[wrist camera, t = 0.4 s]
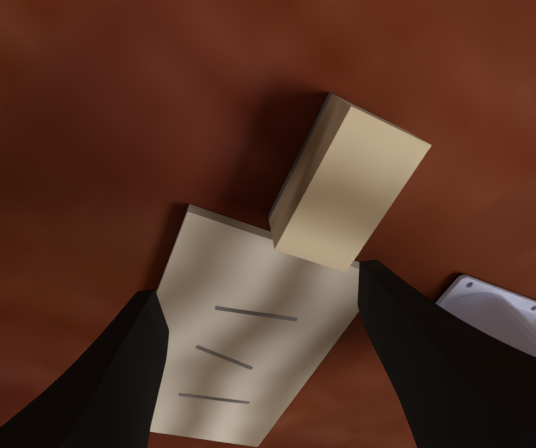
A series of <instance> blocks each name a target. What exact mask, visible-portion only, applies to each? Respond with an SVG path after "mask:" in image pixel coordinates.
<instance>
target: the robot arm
mask: <svg viewBox="0 0 536 448" xmlns="http://www.w3.org/2000/svg"><path fill="white" fill-rule="evenodd" d="M357 305H358V308H359V311H360V314H361V317H362V320H363V323H364V326H365V329H366V331H367V334H368V336H369V338H370V340H371V342H372V344H373V346H374V348H375V350H376V352H377V354H378V356H379V358H380V360H381V362H382V364H383V366H384V368H385V370H386V372H387V374H388V377H389V379H390V381H391V383H392V385H393V387H394V389H395V391H396V393H397V395H398V398H399V400H400V402H401V405H402V408H403V410H404V413H405V415H406V418H407V421H408V423H409V426H410V429H411V431H412V434H413V437H414V440H415V442H416V445H417V448H536V301H535V300H532V299H530V298H527V297H524V296H522V295H519V294H516V293H513V292H511V291H508V290H505V289H503V288H500V287H497V286H494V285H492V284H489V283H486V282H484V281H481V280H478V279H476V278H473V277H470V276H467V275H461V276H459V277H458V278H457V279H456V280H455V281H454V282H453V283H452V284H451V285H450V287H449V288H448V289H447V290H446V291H445V292H444V293H443V295H442V296H441V297H440V298H439V299H438V300H437V302H436V303H434V302H433V301H431V300H430V299H428V298H427V297H425V296H424V295H423V294H421V293H420V292H418V291H417V290H416V289H414V288H413V287H412V286H410V285H409V284H408V283H406V282H405V281H404V280H402V279H401V278H400V277H398V276H397V275H396V274H395V273H393V272H392V271H391V270H389V269H388V268H387V267H386V266H384V265H383V264H382V263H380V262H379V261H378V260H369V261H362V262H359V282H358V303H357ZM168 341H169V328H168V325H167V322H166V320H165V317H164V314H163V311H162V308H161V305H160V302H159V299H158V296H157V294H156V291H155V289H152V290H145V291H137V293H136V294H135V295H134V296H133V297H132V298H131V299H130V301H129V302H128V303H127V304H126V305H125V307H124V308H123V309H122V310H121V311H120V313H119V314H118V315H117V316H116V317H115V319H114V320H113V321H112V322H111V323H110V324H109V326H108V327H107V328H106V329H105V330H104V331H103V332H102V334H101V335H100V336H99V337H98V338H97V339H96V340H95V341H94V342H93V343H92V345H91V346H90V347H89V348H88V349H87V350H86V351H85V352H84V353H83V354H82V355H81V356H80V357H79V358H78V359H77V360H76V361H75V363H74V364H73V365H72V366H71V367H70V368H69V369H67V370H66V371H65V372H64V373H63V374H62V375H61V376H60V377H59V378H58V379H57V380H56V381H55V382H54V383H53V384H51V385H50V386H49V387H48V388H47V389H46V390H45V391H44V392H43V393H42V394H40V395H39V396H38V397H37V398H36V399H34V400H33V401H32V402H31V403H30V404H28V405H27V406H26V407H25V408H24V409H22V410H21V411H20V412H19V413H17V414H16V415H15V416H14V417H13V418H11V419H10V420H9V421H8V422H6V423H5V424H4V425H3V426H1V427H0V448H147V445H148V438H149V433H150V428H151V423H152V419H153V414H154V410H155V406H156V402H157V398H158V393H159V389H160V385H161V381H162V377H163V372H164V368H165V363H166V359H167V350H168Z"/></svg>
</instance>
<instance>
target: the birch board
mask: <svg viewBox="0 0 536 448" xmlns="http://www.w3.org/2000/svg"><path fill="white" fill-rule="evenodd" d="M358 282H359V262H357V261H353V262H352V264H351V265H350V267H349V268H348V270H347V271H346V272H342V271H339V270H336V269H333V268H330V267H327V266H324V265H321V264H318V263H315V262H311V261H308V260H305V259H302V258H299V257H296V256H293V255H290V254H287V253H284V252H280V251H277V250H275V249H274V244H273V239H272V234H271V232H270V231H267V230H264V229H261V228H258V227H255V226H252V225H249V224H246V223H243V222H240V221H238V220H235V219H232V218H229V217H226V216H223V215H220V214H217V213H214V212H211V211H208V210H205V209H203V208H200V207H197V206H194V205H191V204H189V207H188V209H187V212H186V214H185V217H184V220H183V222H182V225H181V228H180V230H179V233H178V236H177V238H176V241H175V244H174V246H173V249H172V252H171V254H170V257H169V260H168V262H167V265H166V267H165V270H164V273H163V275H162V278H161V281H160V283H159V286H158V289H157V291H156V294H157V296H158V299H159V302H160V305H161V308H162V311H163V314H164V317H165V320H166V322H167V325H168V328H169V341H168V350H167V359H166V363H165V368H164V372H163V377H162V381H161V385H160V389H159V393H158V398H157V402H156V406H155V410H154V414H153V419H152V423H151V428H150V432H157V433H164V434H171V435H178V436H185V437H192V438H199V439H206V440H213V441H220V442H227V443H234V444H241V445H248V446H255V447H258V446H259V444H260V443H261V442H262V440H263V439H264V438H265V436H266V435H267V434H268V432H269V431H270V430H271V428H272V427H273V426H274V424H275V423H276V422H277V420H278V419H279V418H280V416H281V415H282V414H283V412H284V411H285V410H286V408H287V407H288V406H289V404H290V403H291V402H292V400H293V399H294V398H295V396H296V395H297V393H298V392H299V391H300V389H301V388H302V387H303V385H304V384H305V383H306V381H307V380H308V379H309V377H310V376H311V375H312V373H313V372H314V371H315V369H316V368H317V367H318V365H319V364H320V363H321V361H322V360H323V359H324V357H325V356H326V355H327V353H328V352H329V351H330V349H331V348H332V347H333V345H334V344H335V343H336V341H337V340H338V339H339V337H340V336H341V335H342V333H343V332H344V331H345V329H346V328H347V327H348V325H349V324H350V323H351V321H352V320H353V319H354V317H355V316H356V315H357V313H358V312H359V308H358V305H357V303H358Z"/></svg>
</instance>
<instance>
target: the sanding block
mask: <svg viewBox="0 0 536 448" xmlns="http://www.w3.org/2000/svg"><path fill="white" fill-rule="evenodd" d="M430 147H431V145H430V144H428V143H427V142H425V141H423V140H421V139H420V138H418V137H416V136H414V135H413V134H411V133H409V132H407V131H406V130H404V129H402V128H401V127H399V126H397V125H395V124H393V123H391V122H389V121H387V120H385V119H383V118H381V117H379V116H377V115H375V114H373V113H371V112H369V111H367V110H365V109H363V108H360V107H358V106H356V105H354V104H352V103H350V102H348V101H346V100H344V99H342V98H340V97H338V96H336V95H334V94H332V93H330V92H329V94H328V96H327V98H326V100H325V102H324V104H323V106H322V108H321V110H320V112H319V114H318V116H317V118H316V120H315V122H314V124H313V126H312V128H311V130H310V132H309V134H308V136H307V138H306V140H305V142H304V144H303V146H302V148H301V150H300V152H299V154H298V156H297V158H296V160H295V162H294V164H293V166H292V168H291V170H290V172H289V174H288V176H287V178H286V180H285V182H284V184H283V186H282V188H281V190H280V192H279V194H278V196H277V198H276V200H275V202H274V204H273V206H272V208H271V210H270V212H269V214H268V219H269V224H270V229H271V234H272V239H273V244H274V249H275V250H277V251H280V252H284V253H287V254H290V255H293V256H296V257H299V258H302V259H305V260H308V261H311V262H315V263H318V264H321V265H324V266H327V267H330V268H333V269H336V270H339V271H342V272H346V271H347V270H348V268H349V267H350V265H351V264H352V262H353V261H354V259H355V258H356V256H357V255H358V254H359V252H360V251H361V249H362V248H363V246H364V245H365V243H366V242H367V240H368V239H369V237H370V236H371V234H372V233H373V231H374V230H375V228H376V227H377V225H378V224H379V222H380V221H381V219H382V218H383V216H384V215H385V213H386V212H387V211H388V209H389V208H390V206H391V205H392V203H393V202H394V200H395V199H396V197H397V196H398V194H399V193H400V191H401V190H402V188H403V187H404V185H405V184H406V182H407V181H408V179H409V178H410V176H411V175H412V173H413V172H414V170H415V169H416V168H417V166H418V165H419V163H420V162H421V160H422V159H423V157H424V156H425V154H426V153H427V151H428V150H429V148H430Z"/></svg>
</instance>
